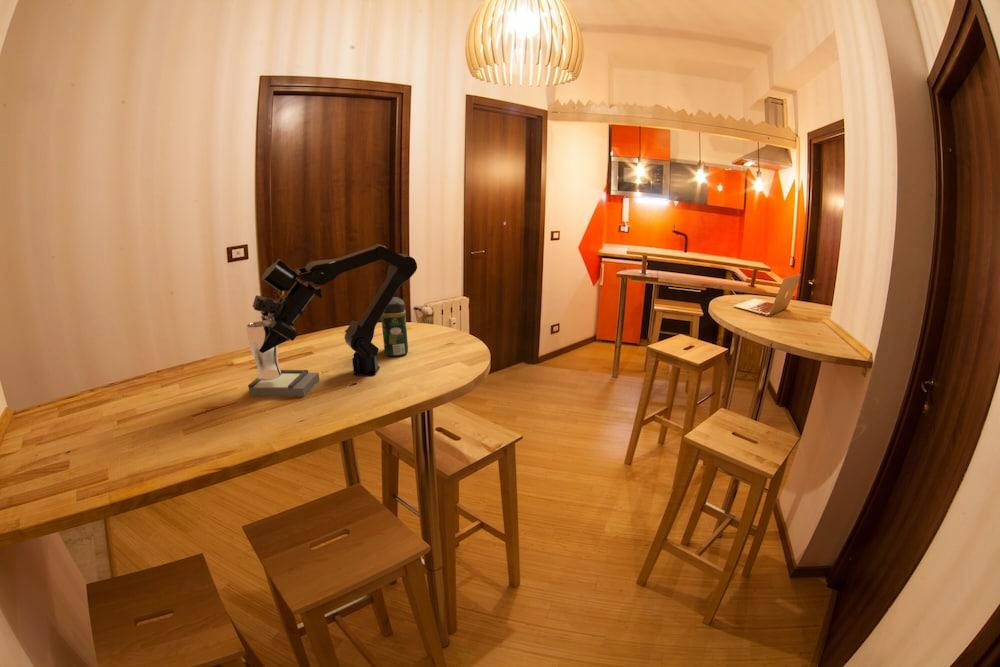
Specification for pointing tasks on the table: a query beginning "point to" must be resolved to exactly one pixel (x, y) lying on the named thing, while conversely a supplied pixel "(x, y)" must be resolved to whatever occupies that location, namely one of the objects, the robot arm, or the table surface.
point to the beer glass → (268, 359)
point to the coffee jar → (395, 328)
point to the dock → (285, 384)
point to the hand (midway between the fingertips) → (258, 348)
